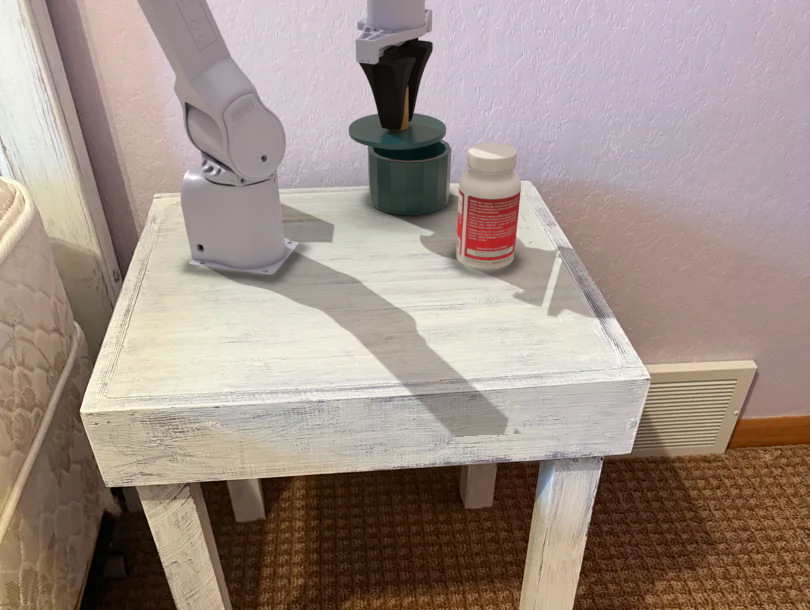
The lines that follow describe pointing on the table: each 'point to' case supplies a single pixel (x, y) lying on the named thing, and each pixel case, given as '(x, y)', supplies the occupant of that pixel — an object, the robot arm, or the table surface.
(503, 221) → the pill bottle
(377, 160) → the tin
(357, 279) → the table surface
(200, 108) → the robot arm
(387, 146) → the lid
